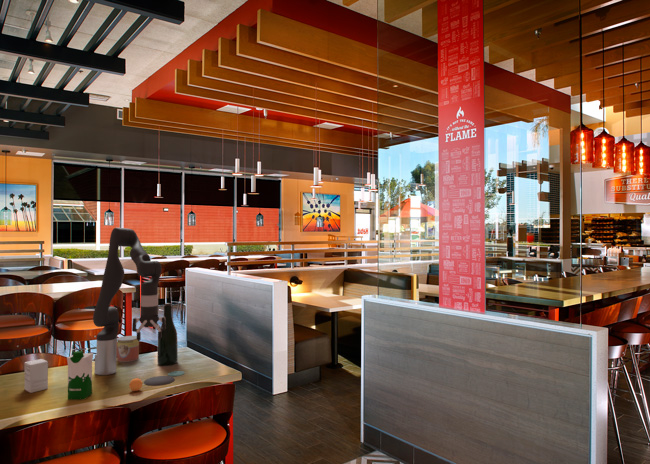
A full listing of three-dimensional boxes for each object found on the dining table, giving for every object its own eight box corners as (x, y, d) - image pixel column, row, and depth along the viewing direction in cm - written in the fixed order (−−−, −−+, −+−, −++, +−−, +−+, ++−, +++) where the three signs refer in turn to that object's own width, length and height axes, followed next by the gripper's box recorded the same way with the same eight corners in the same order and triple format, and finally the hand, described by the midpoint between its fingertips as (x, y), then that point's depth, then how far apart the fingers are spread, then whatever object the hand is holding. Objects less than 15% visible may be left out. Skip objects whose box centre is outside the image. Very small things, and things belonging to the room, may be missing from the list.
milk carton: (64, 400, 193) (64, 353, 193) (75, 393, 202) (75, 348, 202) (85, 400, 193) (85, 353, 193) (95, 392, 202) (95, 348, 202)
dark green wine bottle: (161, 360, 254) (162, 301, 254) (180, 360, 253) (180, 301, 253) (154, 366, 243) (154, 304, 243) (173, 366, 243) (173, 304, 243)
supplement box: (42, 385, 212) (42, 358, 212) (48, 388, 207) (48, 361, 207) (23, 389, 206) (24, 361, 206) (29, 393, 201) (30, 364, 201)
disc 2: (165, 375, 226) (165, 375, 226) (172, 371, 234) (172, 370, 234) (180, 376, 225) (180, 376, 225) (187, 371, 233) (187, 371, 233)
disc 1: (138, 385, 213) (138, 384, 213) (153, 375, 227) (153, 375, 227) (166, 386, 211) (166, 385, 211) (179, 376, 225) (179, 376, 225)
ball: (126, 392, 202) (126, 380, 203) (133, 388, 208) (133, 376, 208) (138, 393, 202) (138, 380, 202) (144, 389, 207) (144, 376, 207)
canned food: (113, 361, 251) (113, 340, 251) (123, 356, 262) (123, 335, 262) (133, 362, 251) (133, 340, 251) (142, 356, 262) (142, 335, 262)
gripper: (166, 303, 213) (166, 337, 213) (134, 303, 210) (134, 339, 210) (164, 305, 205) (164, 341, 205) (131, 306, 202) (130, 342, 202)
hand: (149, 340), depth 208 cm, fingers open, 8 cm apart
